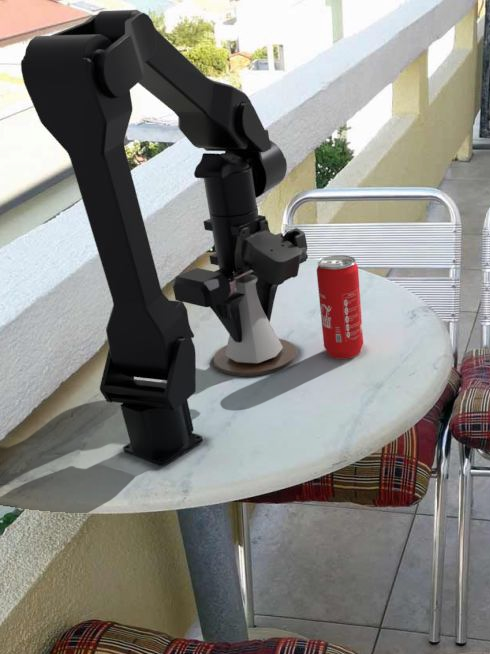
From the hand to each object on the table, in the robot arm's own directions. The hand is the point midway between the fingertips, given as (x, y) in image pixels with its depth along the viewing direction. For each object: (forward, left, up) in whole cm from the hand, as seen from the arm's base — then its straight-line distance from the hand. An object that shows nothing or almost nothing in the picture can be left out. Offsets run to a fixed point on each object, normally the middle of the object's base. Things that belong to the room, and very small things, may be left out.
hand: (251, 334), depth 111 cm
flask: (0, 0, -3) cm, 3 cm away
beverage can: (+7, -9, -4) cm, 12 cm away
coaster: (0, 0, -3) cm, 3 cm away
